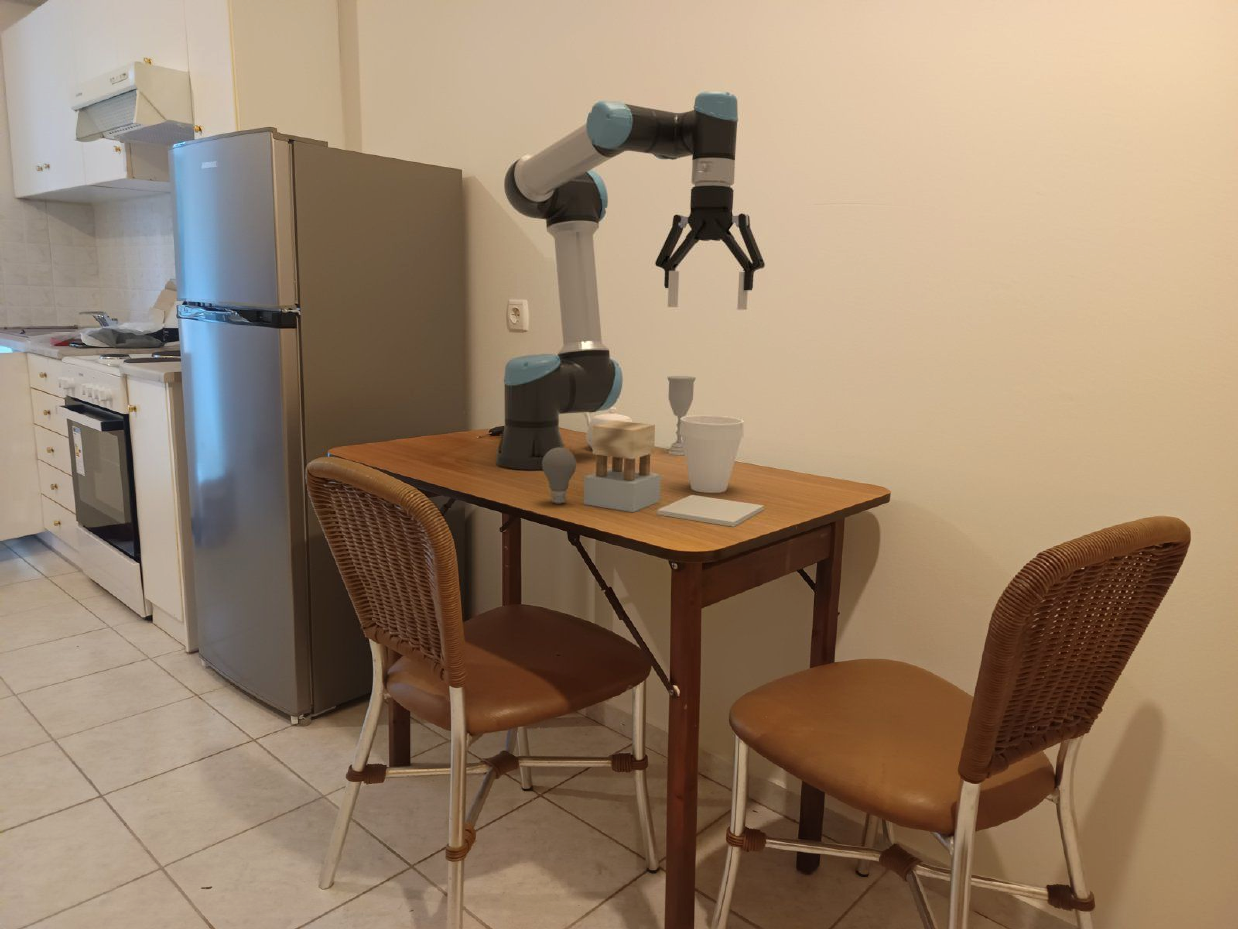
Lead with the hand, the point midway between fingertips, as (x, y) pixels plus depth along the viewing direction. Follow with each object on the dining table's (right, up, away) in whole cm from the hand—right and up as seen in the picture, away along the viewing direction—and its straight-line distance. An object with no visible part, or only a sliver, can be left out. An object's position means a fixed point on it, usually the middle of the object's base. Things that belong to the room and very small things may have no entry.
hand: (706, 308), depth 158 cm
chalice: (-2, -26, +49) cm, 55 cm away
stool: (-15, -30, -3) cm, 34 cm away
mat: (0, -37, -7) cm, 37 cm away
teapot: (-18, -25, +53) cm, 61 cm away
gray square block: (-15, -35, -2) cm, 38 cm away
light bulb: (-27, -35, -4) cm, 44 cm away
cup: (+1, -33, +11) cm, 35 cm away
